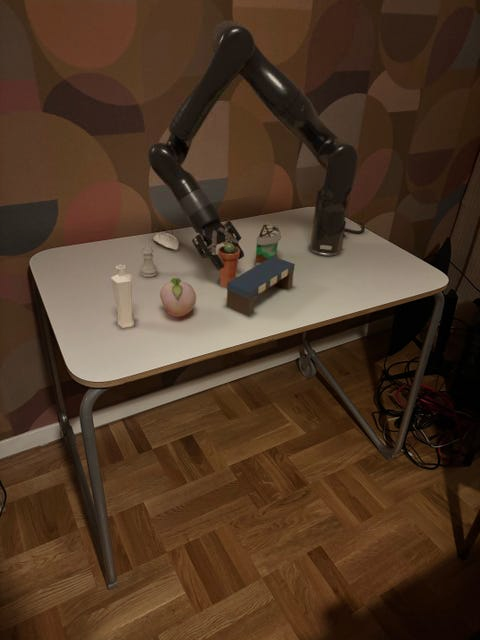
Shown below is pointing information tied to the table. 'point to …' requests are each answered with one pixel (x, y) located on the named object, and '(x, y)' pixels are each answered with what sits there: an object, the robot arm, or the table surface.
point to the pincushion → (167, 240)
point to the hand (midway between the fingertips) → (231, 263)
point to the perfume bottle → (123, 296)
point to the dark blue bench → (258, 283)
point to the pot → (228, 263)
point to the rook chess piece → (148, 263)
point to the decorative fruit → (177, 297)
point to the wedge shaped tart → (267, 242)
